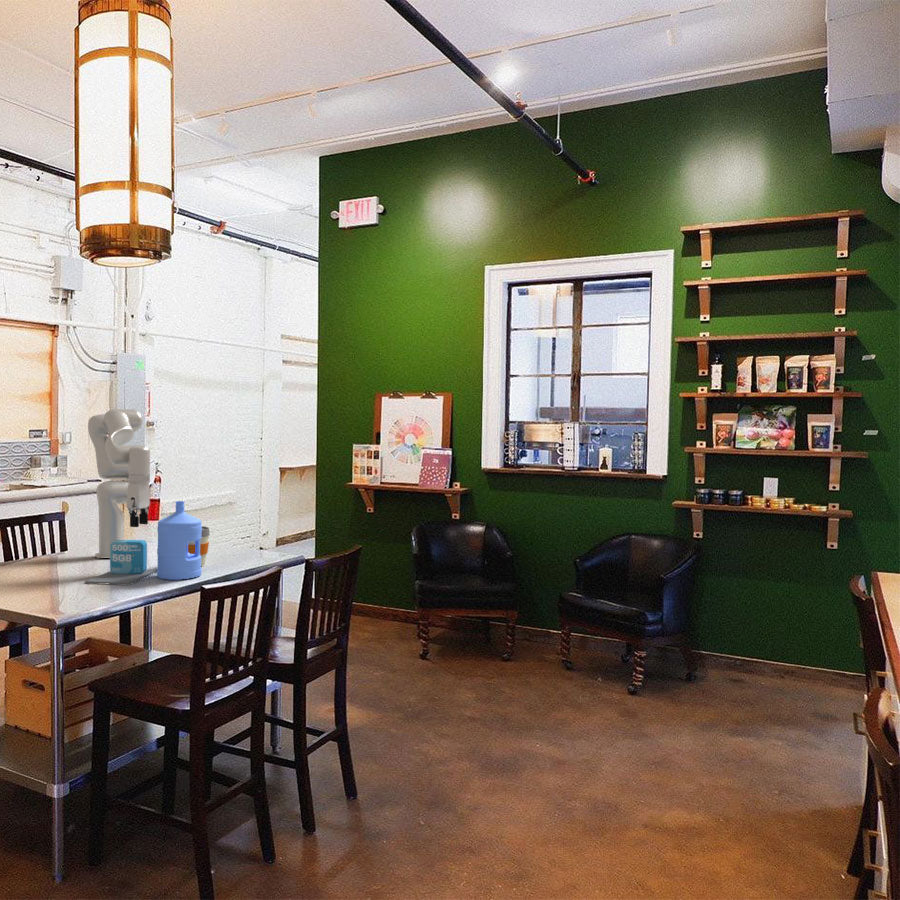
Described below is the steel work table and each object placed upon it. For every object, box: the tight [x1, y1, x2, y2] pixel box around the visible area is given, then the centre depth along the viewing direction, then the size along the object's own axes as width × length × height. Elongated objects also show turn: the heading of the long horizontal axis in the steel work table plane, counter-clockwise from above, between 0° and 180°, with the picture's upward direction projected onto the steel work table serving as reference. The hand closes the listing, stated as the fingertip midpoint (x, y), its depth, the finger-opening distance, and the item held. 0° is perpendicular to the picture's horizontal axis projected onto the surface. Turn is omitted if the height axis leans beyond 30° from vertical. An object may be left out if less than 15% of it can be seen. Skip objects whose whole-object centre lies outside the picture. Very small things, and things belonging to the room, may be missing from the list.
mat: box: [84, 569, 158, 585], centre depth 281 cm, size 22×16×1 cm
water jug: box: [156, 500, 203, 581], centre depth 285 cm, size 16×16×28 cm
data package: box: [109, 539, 148, 574], centre depth 286 cm, size 12×4×12 cm, turn 95°
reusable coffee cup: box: [188, 525, 210, 567], centre depth 305 cm, size 12×13×15 cm
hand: (139, 525), depth 293 cm, fingers open, 6 cm apart
